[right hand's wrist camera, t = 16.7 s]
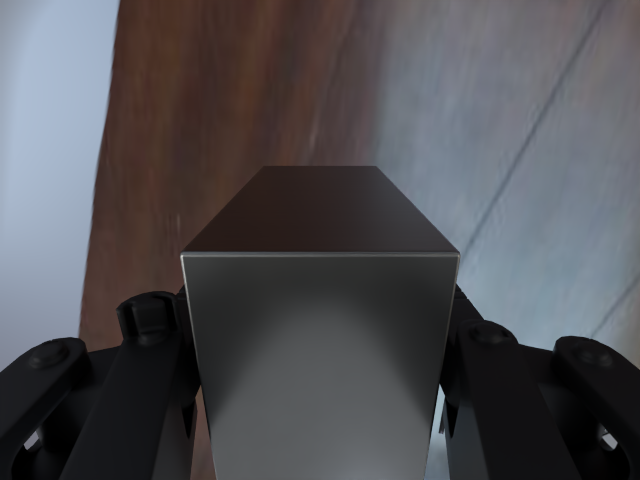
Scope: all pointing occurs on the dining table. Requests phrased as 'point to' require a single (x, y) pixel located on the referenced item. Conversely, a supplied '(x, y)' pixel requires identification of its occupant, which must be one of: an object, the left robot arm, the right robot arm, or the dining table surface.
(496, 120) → the dining table surface
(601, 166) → the dining table surface
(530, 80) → the dining table surface
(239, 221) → the bar
